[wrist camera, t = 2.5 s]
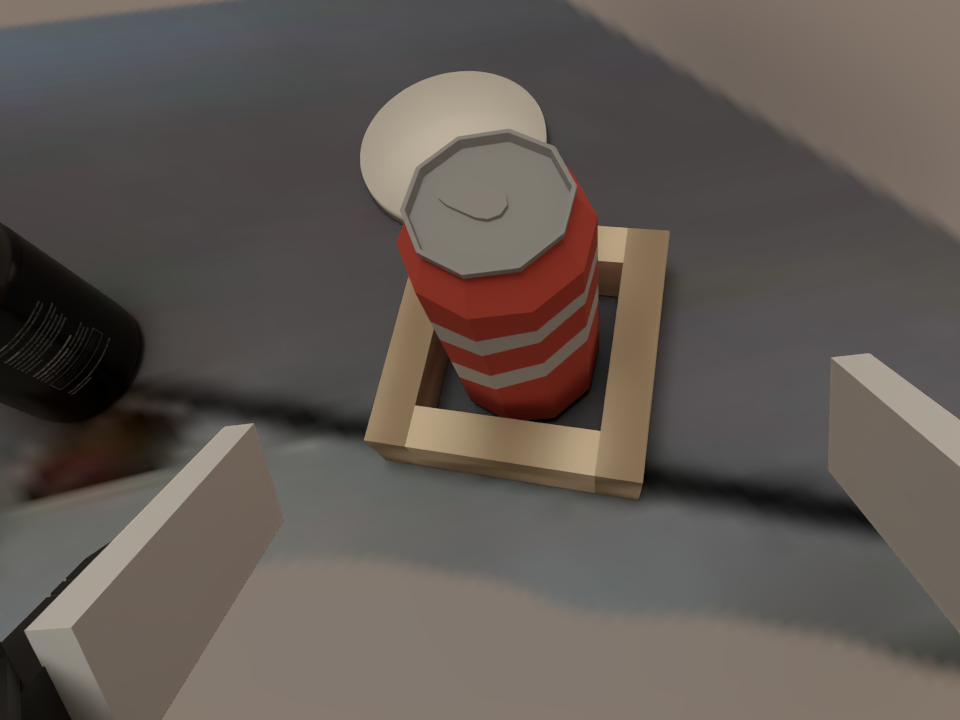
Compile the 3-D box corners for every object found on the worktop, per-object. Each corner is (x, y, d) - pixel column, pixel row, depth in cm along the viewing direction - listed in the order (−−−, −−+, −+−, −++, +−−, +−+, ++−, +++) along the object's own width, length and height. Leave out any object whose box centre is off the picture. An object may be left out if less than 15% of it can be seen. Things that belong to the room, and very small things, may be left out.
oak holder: (386, 459, 29) (364, 440, 26) (439, 249, 33) (425, 214, 30) (638, 500, 27) (642, 483, 24) (663, 267, 31) (669, 230, 28)
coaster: (345, 225, 35) (338, 214, 34) (391, 83, 38) (385, 69, 38) (530, 239, 33) (528, 227, 32) (560, 86, 36) (559, 72, 35)
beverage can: (505, 281, 32) (456, 92, 21) (623, 339, 30) (636, 160, 19) (435, 382, 30) (342, 234, 19) (553, 451, 28) (523, 327, 17)
